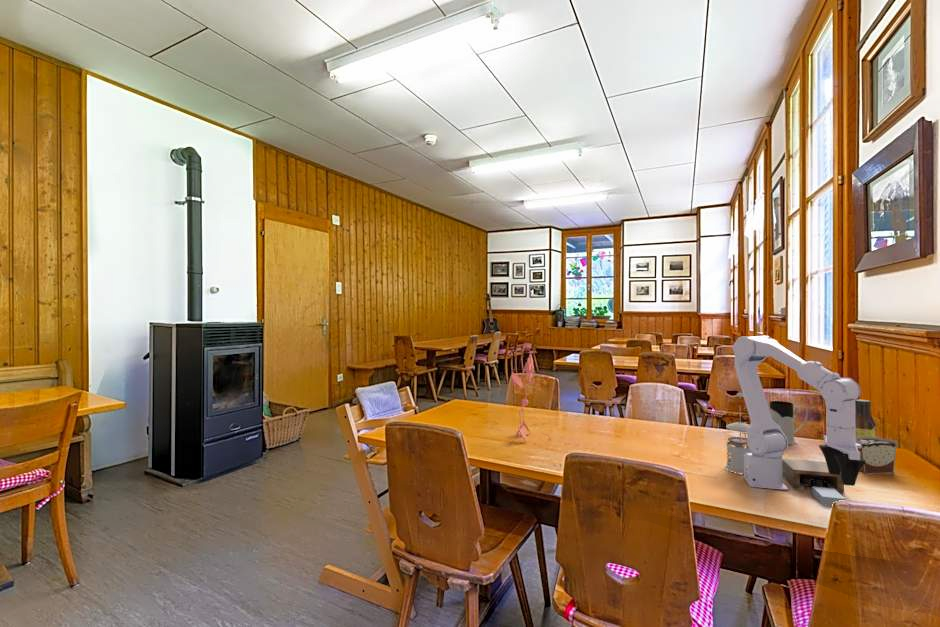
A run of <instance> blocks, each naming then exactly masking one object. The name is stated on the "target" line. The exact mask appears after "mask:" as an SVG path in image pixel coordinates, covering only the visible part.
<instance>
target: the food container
mask: <svg viewBox="0 0 940 627" xmlns="http://www.w3.org/2000/svg"><path fill="white" fill-rule="evenodd" d="M856 443H858V444H860V445H861V448H857V449H858V451H859V452H860V458H863V459H864V460H866V462H865V464H864V465H863V466H862V468H861V469H860V471H859V473H861V472H862V474H863V473H864V474H863V475H875V474H874V473H886V474H894V473H895V463H896V454H897V453H896V452H897V448H899V445H898V443H897V440H893V439H888V438H884V437H877V436H876V437H857V438H856Z"/></svg>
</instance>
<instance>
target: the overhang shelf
mask: <svg viewBox="0 0 940 627" xmlns="http://www.w3.org/2000/svg"><path fill="white" fill-rule="evenodd" d="M782 477H783V479H784V480H785V481H786V482H787V483H788V484H789V485H790V486H791V487H792V488H793V489H796V490H805V486H807V487H808V486H809V487H811V481H813V485H814V487H823V488H824V486H823V484H824V483H823V482H825V484H827V488H833V489H835V490H836V491H837V492H838V493H840V494H845V485H844V484H843V482H842V478H841V472H840V475H837V474H830V473H829V471H828V467H827V463H826V461H816V460H807V459H795V458H794V459H792V458H782ZM800 480H801V481H800Z"/></svg>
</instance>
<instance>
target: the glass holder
mask: <svg viewBox="0 0 940 627" xmlns="http://www.w3.org/2000/svg"><path fill="white" fill-rule="evenodd" d="M800 408H804V409H805V417H804V421H803V422H802V424H801V425H800V426H799V427H798V428H796V429H795V418H796V417H797V416H798V410H800ZM769 411H770V414H771V417H772V420H773V421H774V422H776V423H777V424H778V425H780V427H781V430H782V432H783V433H784V434H785V436H786V437H787V439H788V444H793V445H796V444H795V443H796V441H795V434H796V433H797V432H798V431H800V430H801V429H802V428H803V426H805V424H806V422H807V420H808V417H809V416H808V415H809V410H808V408H807V407H806V406H803V405H799V406H796V408H795V412H794V403H792V402H789V401H783V400H782V401H780V400H772V401H769Z"/></svg>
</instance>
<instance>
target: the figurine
mask: <svg viewBox="0 0 940 627" xmlns="http://www.w3.org/2000/svg"><path fill="white" fill-rule="evenodd" d="M524 364H525V365H524V367H523V370H522V373H521V375H520V376H519V375H518V374H517V373H515V372H514V371H511V378H512V385H513V388H515V387H516V386H518V387H520V388H521V389H523V387H524V388H525V398H523V399H522V400H521V404H522V405H521V408H520V409H519V410H518V414H519V425H518V426H517V429H518V430H517V432H516V433H515V436H514V437H516V438H517V437H518V435H519V434H520V435H521V437H522V439H523V440H524V441H525V440H526V439H527V440H528V438H527V435H526V432H525V431H524V429H523V427H524V428H525V429H526V430H527V432H528V431H529V432H530V433H531V431H530V429H529V427H528V426H527V424H526V422H525V415H524V408H525V407H526V406H528V404H529V400H528V399H527V396H528V388H527V386H526V385H525V384H524V383H523V381H522V379H523V376H524V374H525V373H526V376H525V377H526V379H527V382H528V385H530V384H531V379H533V374H534V375H536V372H535V370H534V369H535V366H534V360H533V356H532V353H529V355H528V357H527V362H525V363H524ZM521 412H522V417H523V420H522V421H521V418H522V417H521ZM519 432H520V433H519ZM529 432H528V433H529ZM518 433H519V434H518Z"/></svg>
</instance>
